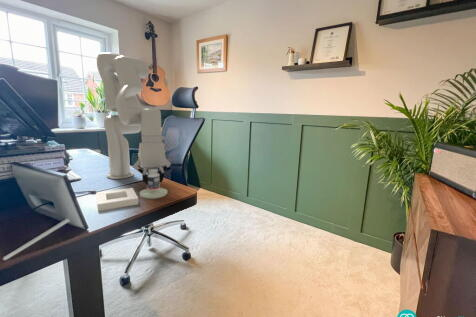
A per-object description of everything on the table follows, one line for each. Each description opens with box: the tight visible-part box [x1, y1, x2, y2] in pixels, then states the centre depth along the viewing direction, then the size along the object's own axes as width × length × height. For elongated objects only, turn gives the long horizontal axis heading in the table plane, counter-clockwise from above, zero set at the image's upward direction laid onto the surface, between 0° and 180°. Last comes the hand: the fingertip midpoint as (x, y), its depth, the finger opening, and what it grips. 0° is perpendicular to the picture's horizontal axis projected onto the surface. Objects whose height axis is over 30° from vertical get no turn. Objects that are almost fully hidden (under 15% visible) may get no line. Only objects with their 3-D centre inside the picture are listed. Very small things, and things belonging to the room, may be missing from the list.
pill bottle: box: [146, 167, 161, 191], centre depth 96 cm, size 5×5×9 cm
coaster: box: [139, 187, 168, 200], centre depth 97 cm, size 11×11×1 cm
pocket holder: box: [96, 187, 139, 212], centre depth 88 cm, size 13×13×2 cm
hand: (153, 182), depth 96 cm, fingers closed on pill bottle, 5 cm apart
